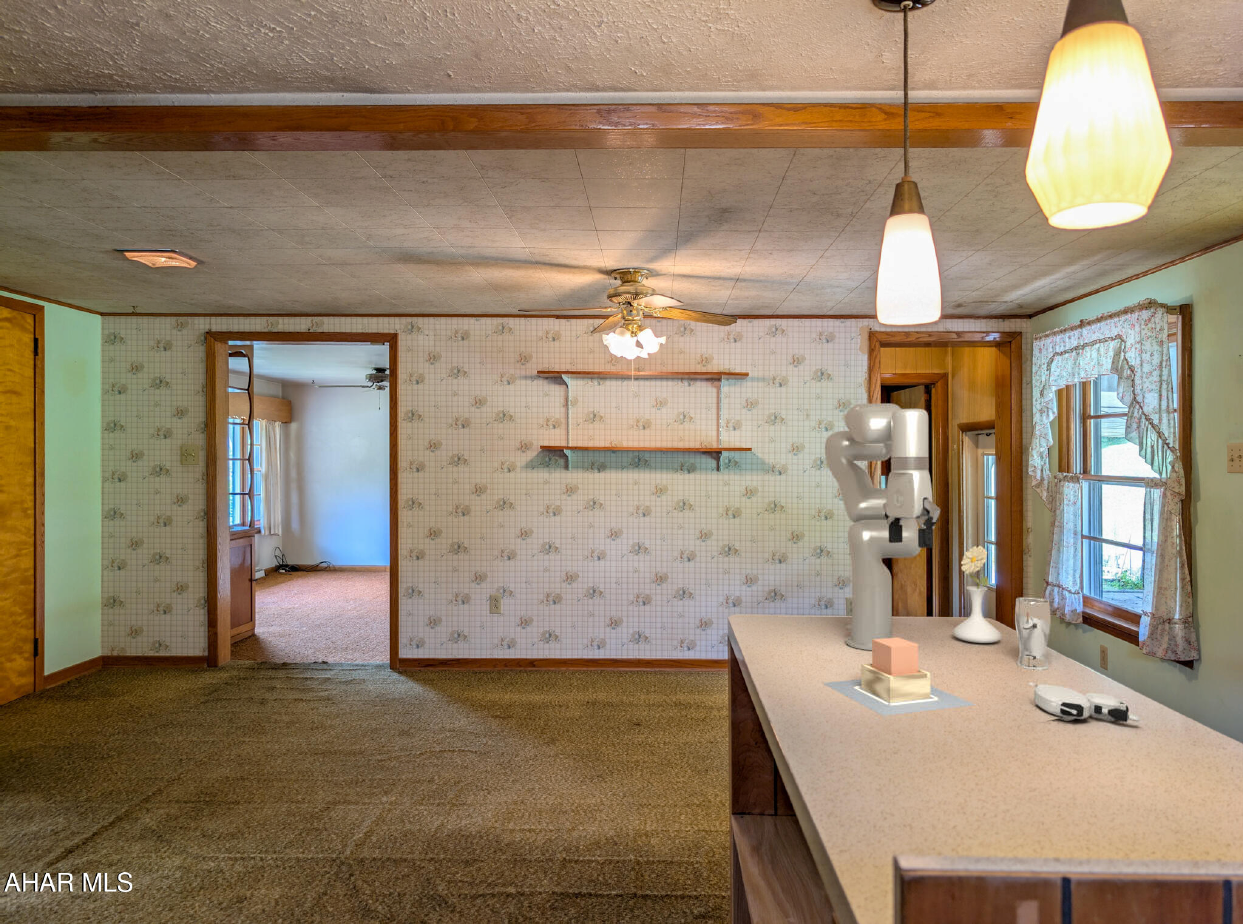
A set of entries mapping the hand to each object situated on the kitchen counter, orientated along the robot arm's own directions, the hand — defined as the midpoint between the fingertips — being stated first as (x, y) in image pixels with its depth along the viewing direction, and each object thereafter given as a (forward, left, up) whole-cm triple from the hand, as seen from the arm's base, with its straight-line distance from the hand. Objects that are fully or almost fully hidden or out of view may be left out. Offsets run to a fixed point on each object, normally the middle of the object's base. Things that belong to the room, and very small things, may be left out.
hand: (910, 544), depth 157 cm
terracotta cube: (+12, -13, -23) cm, 29 cm away
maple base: (+12, -13, -27) cm, 33 cm away
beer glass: (+2, +31, -28) cm, 42 cm away
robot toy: (+30, +13, -29) cm, 44 cm away
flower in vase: (-20, +36, -28) cm, 50 cm away
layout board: (+12, -13, -28) cm, 33 cm away
